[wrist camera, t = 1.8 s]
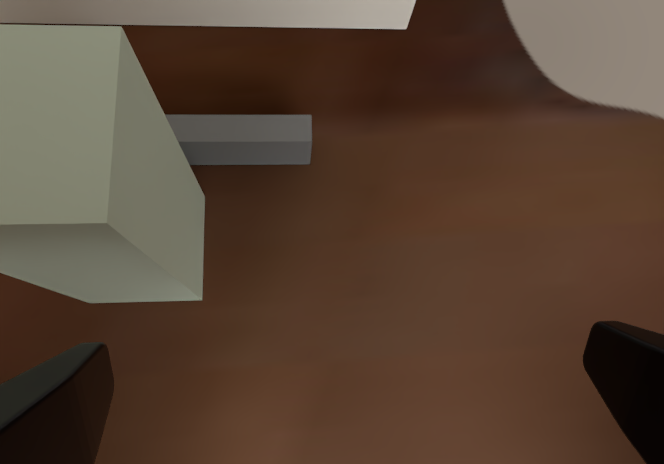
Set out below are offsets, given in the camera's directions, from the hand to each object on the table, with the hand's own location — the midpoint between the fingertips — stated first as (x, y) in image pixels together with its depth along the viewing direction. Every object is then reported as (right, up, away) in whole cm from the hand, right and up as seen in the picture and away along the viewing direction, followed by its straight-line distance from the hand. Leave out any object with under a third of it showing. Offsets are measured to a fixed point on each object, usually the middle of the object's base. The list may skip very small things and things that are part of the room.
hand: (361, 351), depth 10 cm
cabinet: (-8, +2, +13) cm, 15 cm away
